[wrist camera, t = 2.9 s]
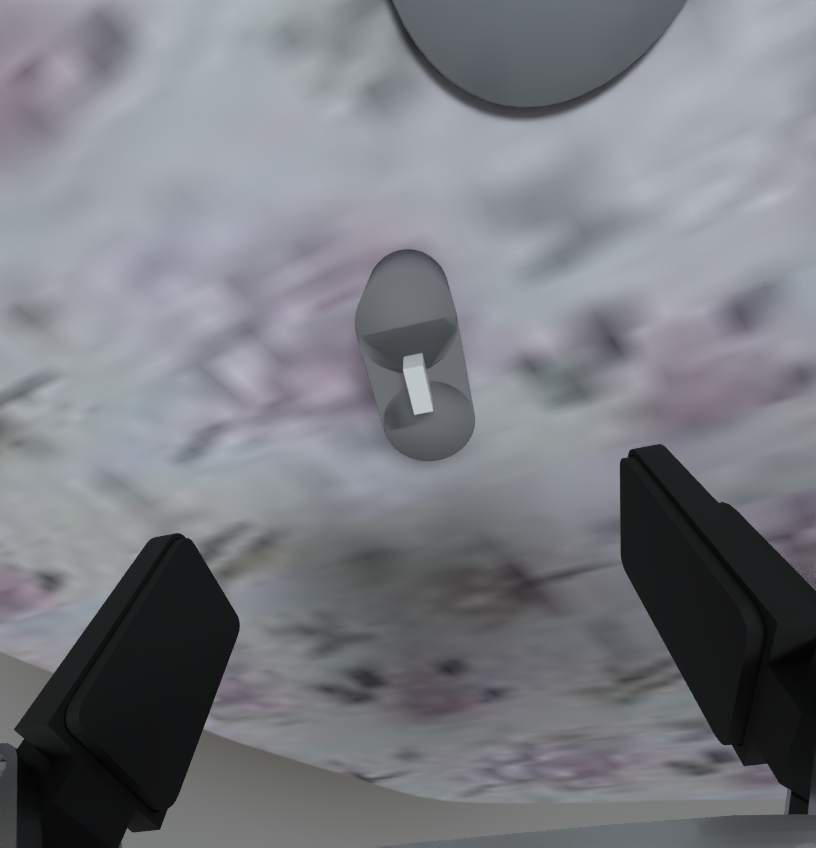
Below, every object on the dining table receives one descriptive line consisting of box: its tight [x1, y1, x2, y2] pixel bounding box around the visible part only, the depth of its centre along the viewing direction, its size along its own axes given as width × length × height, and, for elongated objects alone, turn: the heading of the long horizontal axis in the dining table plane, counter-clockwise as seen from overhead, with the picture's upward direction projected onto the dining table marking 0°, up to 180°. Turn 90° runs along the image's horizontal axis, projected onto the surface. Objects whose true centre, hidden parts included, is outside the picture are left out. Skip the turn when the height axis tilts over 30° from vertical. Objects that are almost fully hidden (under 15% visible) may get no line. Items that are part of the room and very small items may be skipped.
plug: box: [355, 250, 475, 461], centre depth 19 cm, size 8×4×6 cm, turn 13°
